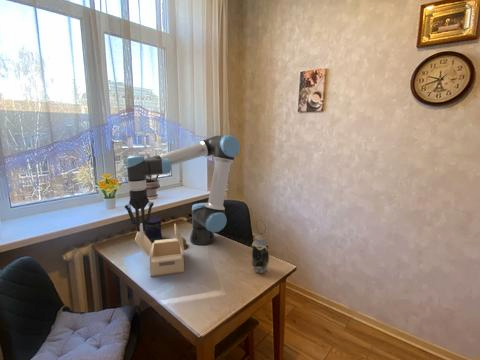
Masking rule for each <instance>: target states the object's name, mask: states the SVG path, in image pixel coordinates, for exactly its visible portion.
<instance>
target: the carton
mask: <svg viewBox="0 0 480 360" xmlns="http://www.w3.org/2000/svg"><path fill="white" fill-rule="evenodd" d="M184 261H185V259H184V252H183V251H182V249H181V247H180V244H179V242H178V240H177V238H176V237H173V238H167V239H166V238H165V239H162V240H155V242H154V243H152V244H151V249H150V254H149V270H150V272H149V273H150V278H153V277H160V276H161V277H162V276H167V275H174V274H181V273H184V272H185V265H184V264H185V263H184Z"/></svg>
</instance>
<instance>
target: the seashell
mask: <svg viewBox="0 0 480 360" xmlns="http://www.w3.org/2000/svg"><path fill="white" fill-rule="evenodd" d="M181 237H182V236H181ZM182 239H183V247H184V250H186V249H187V248H188V246H187V240H186V238H185V237H182Z"/></svg>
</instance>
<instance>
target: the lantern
mask: <svg viewBox="0 0 480 360" xmlns="http://www.w3.org/2000/svg"><path fill="white" fill-rule="evenodd" d="M258 221H259V219H257V220H256V222H255V224H257V223H258ZM260 221H261V222H262V223H263V225H264V232H260V231H259V230H258V227H257V226H255V228H256V231H257V233H259V234H257V235H256V236H254V240H253V242H252V244H251V247H252V253H251V254H252V256H251V257H252V258H251V266H252V267H253V271H255V272H256V273H260V274H261V273H265V272H267V270H268V266H269V265H268V264H269V261H270V255H269V254H270V252H269V246H268V242H267V237H266V236H264V233H265V232H266V224H265V221H264V220H262V219H260Z"/></svg>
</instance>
